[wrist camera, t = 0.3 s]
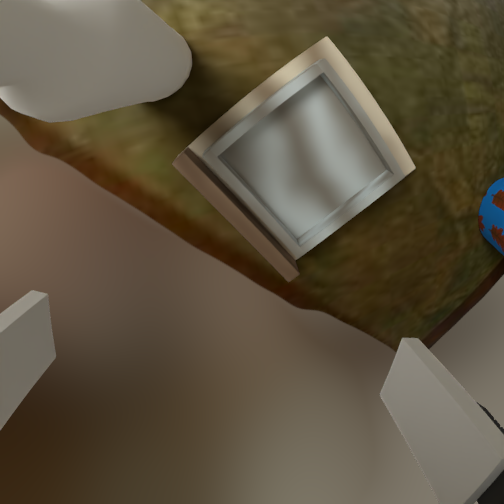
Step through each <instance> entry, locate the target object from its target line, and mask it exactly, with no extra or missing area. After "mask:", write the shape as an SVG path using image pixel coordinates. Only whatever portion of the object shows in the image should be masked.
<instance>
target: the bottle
mask: <svg viewBox="0 0 504 504" xmlns="http://www.w3.org/2000/svg"><path fill="white" fill-rule="evenodd" d="M191 68H192V54H191V51H190V49H189V47H188V45H187V43H186V41H185V39H184V38H183V37H182V36H181V35H180V34H178V33H177V32H176V31H175V30H174V29H172V28H171V27H170V26H169V25H168V24H166V23H165V22H164V21H163V20H162V19H161V18H160V17H159V16H158V15H156V14H155V13H154V12H153V11H152V10H151V9H150V8H148V7H147V6H146V5H145V4H144V3H143V2H142V1H140V0H0V98H1V99H2V100H3V101H4V102H5V103H6V104H7V105H8V106H9V107H10V108H11V109H13V110H15V111H17V112H19V113H22V114H25V115H28V116H31V117H34V118H37V119H40V120H43V121H46V122H61V121H73V120H76V119H79V118H83V117H86V116H90V115H94V114H97V113H101V112H105V111H109V110H113V109H117V108H121V107H125V106H130V105H134V104H139V103H144V102H154V101H157V100H160V99H163V98H166V97H168V96H170V95H172V94H173V93H175V92H176V91H177V90H179V89H180V88H181V87H182V86H183V84H184V83H185V81H186V80H187V79H188V77H189V75H190V71H191Z"/></svg>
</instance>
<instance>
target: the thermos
mask: <svg viewBox="0 0 504 504" xmlns="http://www.w3.org/2000/svg"><path fill="white" fill-rule="evenodd" d="M478 222H479V228H480V231H481V233H482V235H483V236H484V237H485V238H486V239H487V240H488V241H489V242H490V243H491V244H492V245H493V246H494V247H495V248H496V249H497V250H498V251H499V252H500V253H501V254H503V255H504V178H502V179H500V180H497V181H496V182H495V183H494V184H493V185H492V186H491V187H490V188H489V189H488V191H487V192H486V194H485V196H484V197H483V200H482V203H481V206H480V209H479V218H478Z"/></svg>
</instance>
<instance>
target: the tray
mask: <svg viewBox="0 0 504 504" xmlns="http://www.w3.org/2000/svg"><path fill="white" fill-rule="evenodd" d="M172 165H173V166H174V167H175V168H176V169H177V170H178V171H179V172H180V173H181V174H182V175H183V176H184V177H185V178H186V179H187V180H188V181H189V182H190V183H191V184H192V185H193V186H194V187H195V188H196V189H197V190H198V191H199V192H200V193H201V194H202V195H203V196H204V197H205V198H206V199H207V200H208V201H209V202H210V203H211V204H212V205H213V206H214V207H215V208H216V209H217V210H218V211H219V212H220V213H221V214H222V215H223V216H224V217H225V218H226V219H227V220H228V221H229V222H230V223H231V224H232V225H233V226H234V227H235V228H236V229H237V230H238V231H239V232H240V233H241V234H242V235H243V236H244V238H245V239H246V240H247V241H248V242H249V243H250V244H251V245H252V246H253V247H254V248H255V249H256V250H257V251H258V252H259V253H260V254H261V255H262V256H263V257H264V258H265V259H266V260H267V261H268V262H269V263H270V264H271V265H272V266H273V267H274V268H275V269H276V270H277V271H278V272H279V273H280V274H281V275H282V276H283V277H284V278H285V279H286V280H287V281H288V282H290V281H291V280H292V279H294V278H295V277H297V276H298V275H299V274H300V273H299V270H298V267H297V264H296V261H295V260H297V259H299V258H300V257H301V256H303V255H304V254H305V253H307V252H308V251H309V250H311V249H312V248H313V247H315V246H316V245H317V244H319V243H320V242H321V241H323V240H324V239H325V238H327V237H328V236H329V235H331V234H332V233H333V232H335V231H336V230H337V229H339V228H340V227H341V226H342V225H344V224H345V223H346V222H348V221H349V220H350V219H352V218H353V217H354V216H356V215H357V214H358V213H360V212H361V211H362V210H363V209H365V208H366V207H367V206H369V205H370V204H371V203H372V202H374V201H375V200H376V199H378V198H379V197H380V196H381V195H383V194H384V193H385V192H387V191H388V190H389V189H390V188H392V187H393V186H394V185H396V184H397V183H398V182H399V181H401V180H402V179H403V178H404V177H405V176H406V175H408V174H409V173H410V172H411V171H413V170H414V169H415V168H416V167H415V165H414V164H413V162H412V160H411V158H410V156H409V155H408V153H407V151H406V149H405V148H404V146H403V144H402V142H401V141H400V139H399V137H398V136H397V134H396V132H395V131H394V129H393V127H392V126H391V124H390V123H389V121H388V119H387V118H386V116H385V115H384V113H383V112H382V110H381V108H380V107H379V105H378V104H377V102H376V101H375V99H374V98H373V96H372V95H371V93H370V92H369V91H368V89H367V88H366V86H365V85H364V83H363V82H362V81H361V79H360V78H359V76H358V75H357V74H356V72H355V71H354V70H353V68H352V67H351V66H350V64H349V63H348V62H347V60H346V59H345V58H344V57H343V55H342V54H341V53H340V51H339V50H338V49H337V48H336V46H335V45H334V44H333V43H332V41H331V40H330V39H329V38H328V37H325V38H323V39H322V40H320V41H319V42H317V43H316V44H314V45H313V46H311V47H310V48H309V49H307V50H306V51H304V52H303V53H301V54H300V55H299V56H297V57H296V58H294V59H293V60H292V61H290V62H289V63H288V64H286V65H285V66H284V67H282V68H281V69H280V70H278V71H277V72H276V73H274V74H273V75H272V76H270V77H269V78H268V79H266V80H265V81H264V82H263V83H261V84H260V85H259V86H257V87H256V88H255V89H254V90H252V91H251V92H250V93H249V94H247V95H246V96H245V97H244V98H243V99H241V100H240V101H239V102H238V103H237V104H235V105H234V106H233V107H232V108H231V109H229V110H228V111H227V112H226V113H225V114H223V115H222V116H221V117H220V118H219V119H218V120H217V121H215V122H214V123H213V124H212V125H211V126H210V127H209V128H207V129H206V130H205V131H204V132H203V133H202V134H201V135H200V136H198V137H197V138H196V139H195V140H194V141H193V142H192V143H191V144H190V145H189V146H188V147H186V148H185V149H184V150H183V151H182V152H181V153H180V154H179V155H178V156H177V158H176V159H175V160H174V162H173V163H172Z"/></svg>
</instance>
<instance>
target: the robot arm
mask: <svg viewBox="0 0 504 504" xmlns="http://www.w3.org/2000/svg"><path fill="white" fill-rule="evenodd" d="M55 358H56V354H55V347H54V341H53V334H52V327H51V319H50V310H49V300H48V294H46V293H42V292H37V291H33V290H32V291H30V292H29V293H28V294H26V295H25V296H23V297H22V298H21V299H19V300H18V301H17V302H15V303H14V304H13V305H11V306H10V307H9V308H7V309H6V310H5V311H3V312H2V313H1V314H0V430H1V429H2V427H3V426H4V424H5V423H6V422H7V420H8V419H9V417H10V416H11V415H12V413H13V412H14V411H15V409H16V408H17V406H18V405H19V404H20V402H21V401H22V400H23V398H24V397H25V396H26V395H27V393H28V392H29V391H30V389H31V388H32V387H33V385H34V384H35V383H36V382H37V380H38V379H39V378H40V377H41V375H42V374H43V373H44V371H45V370H46V369H47V368H48V366H49V365H50V364H51V363H52V361H53V360H54V359H55ZM380 397H381V398H382V400H383V402H384V404H385V405H386V407H387V409H388V411H389V412H390V414H391V416H392V418H393V419H394V421H395V423H396V425H397V427H398V428H399V430H400V432H401V433H402V436H403V437H404V439H405V441H406V443H407V445H408V446H409V448H410V450H411V452H412V453H413V455H414V457H415V459H416V461H417V462H418V464H419V466H420V468H421V470H422V472H423V474H424V476H425V478H426V479H427V481H428V483H429V485H430V487H431V489H432V491H433V493H434V495H435V497H436V498H437V500H438V502H439V504H474V503H475V502H476V501H477V502H478V504H504V429H503V428H502V427H500V424H499V423H498V422H497V421H496V420H494V417H493V416H492V415H491V414H490V413H489V412H488V410H487V409H486V408H484V407H483V406H481V405H480V404H479V403H477V402H476V401H475V400H474V399H473V398H472V397H471V396H470V395H469V394H468V392H467V391H466V390H465V389H464V388H463V387H462V386H461V385H460V383H459V382H458V381H457V380H456V379H455V378H454V377H453V376H452V375H451V373H450V372H449V371H448V370H447V369H446V368H445V367H444V366H443V365H442V364H441V362H440V361H439V360H438V359H437V358H436V357H435V356H434V355H433V354H432V353H431V352H430V351H429V350H428V348H427V347H426V346H425V345H424V344H423V343H422V342H421V341H420V340H419V339H418V338H402V340H401V342H400V345H399V348H398V350H397V353H396V356H395V358H394V361H393V364H392V366H391V368H390V371H389V373H388V376H387V378H386V380H385V383H384V385H383V388H382V390H381V392H380Z"/></svg>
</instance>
